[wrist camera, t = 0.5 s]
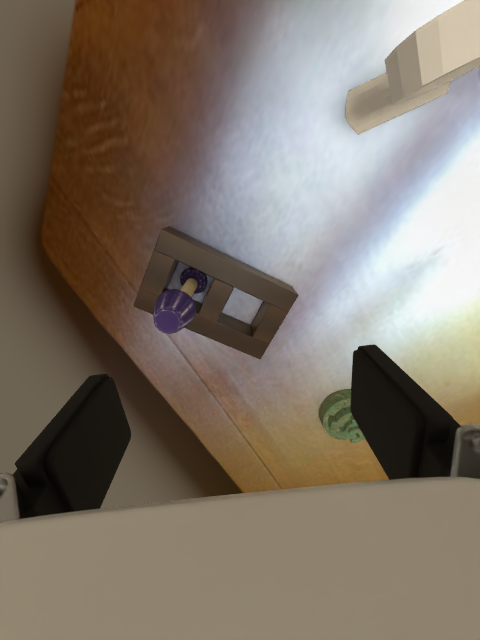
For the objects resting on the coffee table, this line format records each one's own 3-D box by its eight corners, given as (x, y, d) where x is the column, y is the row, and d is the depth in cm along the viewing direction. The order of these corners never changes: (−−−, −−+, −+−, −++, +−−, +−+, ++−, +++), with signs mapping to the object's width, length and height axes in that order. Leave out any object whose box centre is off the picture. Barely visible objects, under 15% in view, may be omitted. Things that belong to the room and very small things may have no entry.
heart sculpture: (343, 141, 37) (434, 90, 20) (333, 98, 35) (424, 3, 18) (463, 85, 35) (674, -23, 18) (459, 36, 33) (691, -134, 16)
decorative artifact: (326, 435, 57) (374, 420, 56) (338, 465, 50) (392, 449, 49) (313, 399, 53) (364, 382, 52) (324, 426, 47) (382, 408, 45)
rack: (168, 226, 40) (161, 228, 36) (292, 286, 44) (298, 295, 40) (142, 296, 44) (133, 306, 40) (257, 346, 48) (260, 359, 44)
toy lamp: (187, 299, 45) (163, 349, 29) (170, 274, 43) (135, 314, 28) (212, 285, 44) (201, 328, 28) (196, 259, 42) (175, 291, 27)
